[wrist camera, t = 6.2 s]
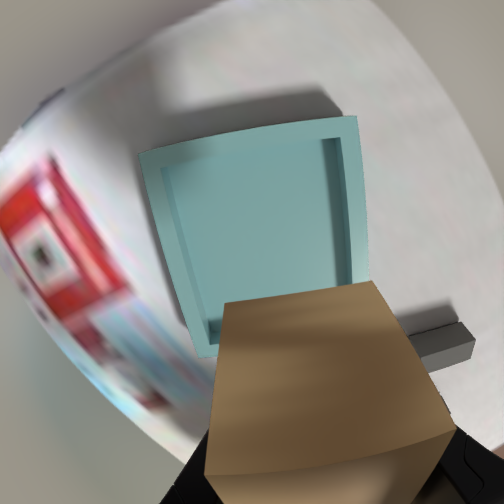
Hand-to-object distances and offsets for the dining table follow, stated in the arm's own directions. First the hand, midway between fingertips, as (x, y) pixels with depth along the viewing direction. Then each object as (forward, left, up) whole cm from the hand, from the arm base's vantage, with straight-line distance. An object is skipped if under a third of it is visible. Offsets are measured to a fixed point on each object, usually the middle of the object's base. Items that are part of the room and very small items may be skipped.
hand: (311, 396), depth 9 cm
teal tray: (-1, +1, -11) cm, 11 cm away
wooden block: (0, 0, -1) cm, 1 cm away
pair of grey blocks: (+11, -14, -11) cm, 21 cm away
